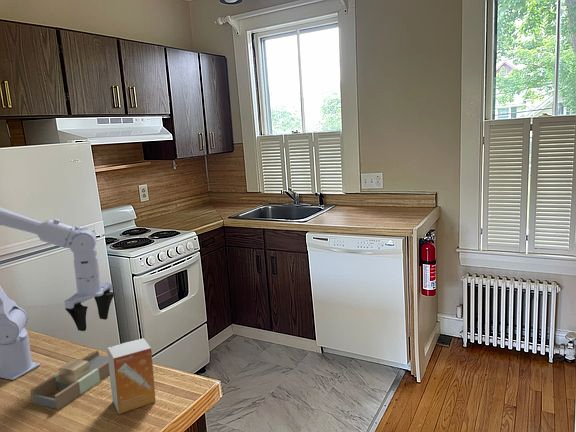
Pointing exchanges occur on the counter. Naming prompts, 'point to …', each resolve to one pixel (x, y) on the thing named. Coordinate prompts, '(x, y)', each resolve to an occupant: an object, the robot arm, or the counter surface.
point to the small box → (131, 375)
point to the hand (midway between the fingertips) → (93, 324)
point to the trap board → (71, 391)
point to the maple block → (74, 370)
